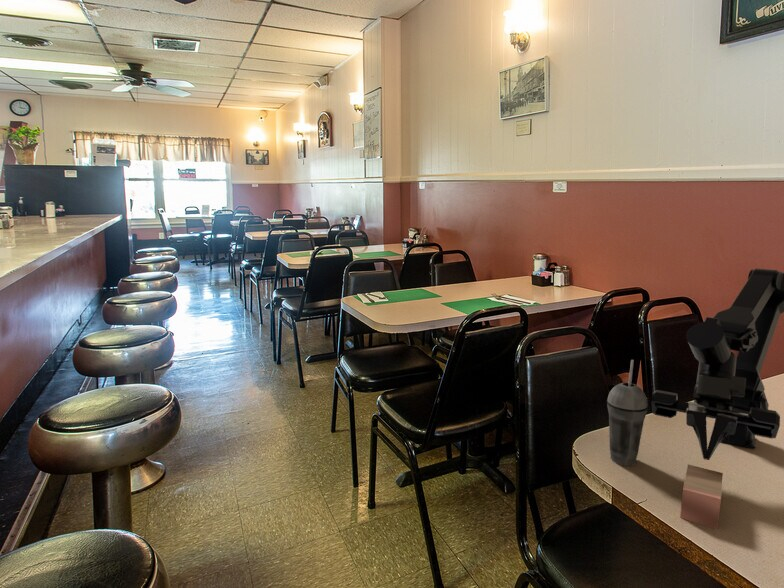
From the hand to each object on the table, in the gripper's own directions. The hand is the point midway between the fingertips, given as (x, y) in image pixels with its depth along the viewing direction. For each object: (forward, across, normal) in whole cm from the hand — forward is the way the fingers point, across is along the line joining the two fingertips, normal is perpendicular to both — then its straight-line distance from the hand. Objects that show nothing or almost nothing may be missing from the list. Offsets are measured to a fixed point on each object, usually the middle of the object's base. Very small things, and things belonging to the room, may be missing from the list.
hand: (706, 458), depth 84 cm
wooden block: (+3, 0, +3) cm, 4 cm away
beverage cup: (+1, -14, +8) cm, 16 cm away
